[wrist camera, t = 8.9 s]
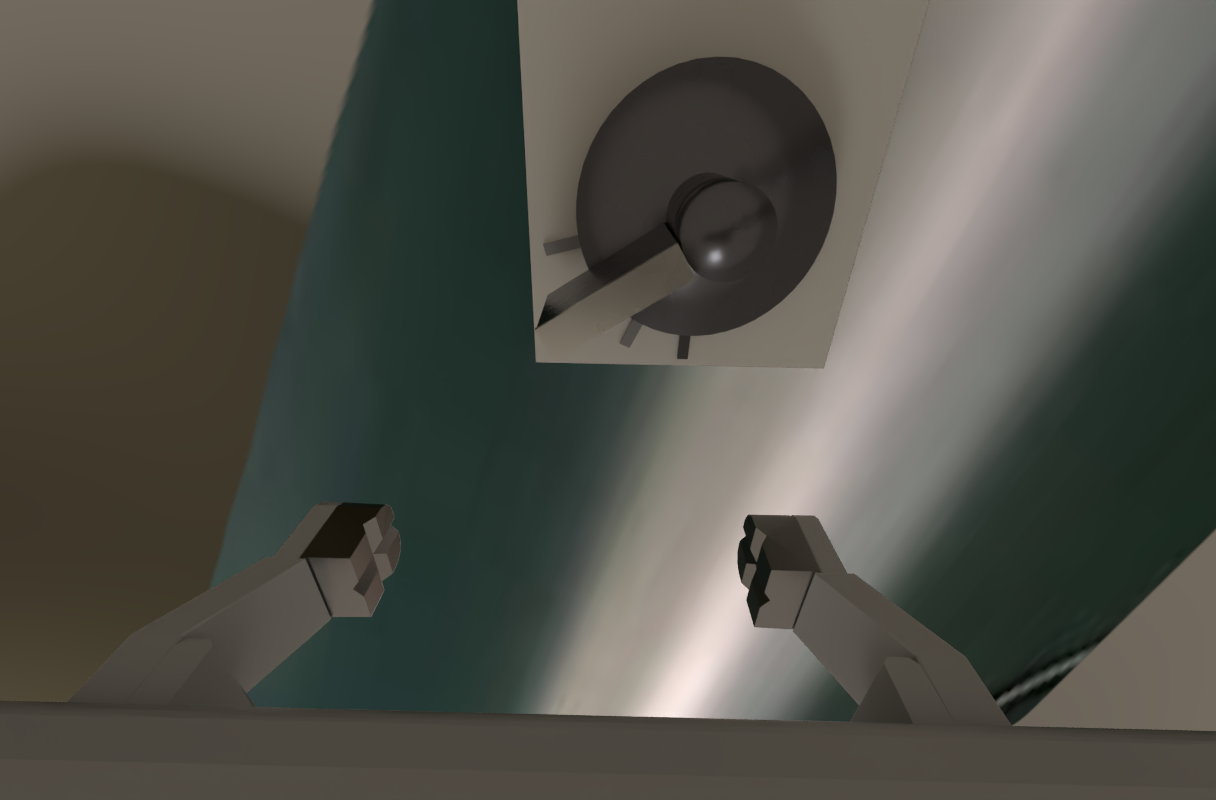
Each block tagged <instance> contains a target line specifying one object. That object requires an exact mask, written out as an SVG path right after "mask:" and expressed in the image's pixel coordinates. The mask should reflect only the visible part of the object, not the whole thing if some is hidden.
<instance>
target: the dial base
mask: <svg viewBox="0 0 1216 800" xmlns="http://www.w3.org/2000/svg"><path fill="white" fill-rule="evenodd" d="M517 3H518V22H519V42H520V61H521V80H522V99H523V119H524V138H525V157H526V177H527V196H528V215H529V235H530V254H531V273H532V292H533V312H534V331H535V328H536V327H537V325H538V322H539V319H540V316H541V313H542V310H543V307H544V304H545V301H546V298H547V295H548V294H550V293H551V292H553V291H555V290H556V289H558V288H559V287H561V286H563V285H564V284H566V283H567V282H569V281H571V280H572V279H574V278H576V277H577V276H579V275H580V274H582V273H584V272H585V271H587V270H588V267H587V264H586V262H585V259H584V256H583V254H582V250H581V246H580V242H579V238H578V231H577V223H576V198H577V191H578V183H579V179H580V175H581V171H582V167H583V163H584V161H585V158H586V156H587V153H588V150H589V148H590V145H591V143H592V142H593V140H594V138H595V136H596V134H597V132H598V130H599V129H600V127H601V125H602V124H603V123H604V121H605V120H606V119H607V117H608V116H609V114H610V113H611V112H612V110H613V109H614V108H615V107H616V106H617V105H618V104H619V103H620V102H621V101H622V100H623V98H624V97H625V96H626V95H627V94H629V93H630V92H631V91H632V90H634V89H635V88H636V87H637V86H638V85H640V84H641V83H642V82H644V81H645V80H647V79H649V78H650V77H652V76H653V75H655V74H657V73H658V72H660V71H662V70H665V69H667V68H669V67H672V66H674V65H676V64H679V63H683V62H686V61H690V60H694V59H698V58H707V57H717V56H718V57H736V58H741V59H745V60H750V61H754V62H757V63H759V64H762V65H764V66H767V67H769V68H772V69H773V70H775V71H777V72H778V73H780V74H781V75H783V76H785V77H786V78H788V79H789V80H790V81H791V82H793V83H794V84H795V85H796V86H797V87H798V88H799V89H800V90H802V91H803V93H804V94H805V95H806V96H807V97H808V99H809V100H810V101H811V102H812V104H813V105H814V106H815V108H816V110H817V111H818V113H819V115H820V116H821V118H822V120H823V122H824V124H825V127H826V129H827V132H828V134H829V137H830V139H831V143H832V147H833V151H834V155H835V163H836V172H837V191H836V201H835V207H834V213H833V217H832V221H831V225H830V228H829V231H828V234H827V237H826V239H825V242H824V244H823V247H822V249H821V251H820V252H819V254H818V256H817V258H816V260H815V262H814V264H813V265H812V267H811V268H810V270H809V271H808V273H807V274H806V275H805V277H804V278H803V279H802V281H801V282H800V283H799V284H798V285H797V286H796V288H795V289H794V290H793V291H792V292H791V293H790V294H789V295H788V296H787V297H786V298H785V299H784V300H783V301H782V302H780V303H779V304H778V305H776V306H775V307H774V308H772V309H771V310H770V311H769V312H767V313H765V314H764V315H762V316H760V317H759V318H757V319H756V320H754V321H752V322H749V323H747V324H745V325H743V326H741V327H738V328H735V329H732V330H729V331H726V332H722V333H717V334H712V335H702V336H681V335H675V334H669V333H664V332H661V331H658V330H654V329H651V328H649V327H647V326H645V325H642V324H640V323H638V322H637V321H635V320H633V319H632V318H630V317H629V318H627V319H626V320H624V321H622V322H620V323H619V324H617V325H615V326H614V327H612V328H610V329H608V330H607V331H605V332H603V333H601V334H600V335H598V336H596V337H594V338H593V339H591V340H589V341H588V342H586V343H584V344H582V345H581V346H579V347H577V348H575V349H574V350H572V351H570V352H568V353H567V354H565V355H563V356H562V357H560V358H558V359H555V358H554V356H553V355H552V353H551V352H550V351H549V349H548V348H547V347H546V345H545V344H544V342H543V341H542V340H541V338H540V337H539V336H538V334H537V333H536V332H535V350H536V362H552V363H597V364H643V365H689V366H735V367H781V368H824V366H825V362H826V359H827V355H828V352H829V348H830V345H831V341H832V338H833V334H834V331H835V327H836V324H837V320H838V317H839V313H840V310H841V307H842V303H843V300H844V296H845V293H846V289H847V286H848V282H849V279H850V275H851V272H852V268H853V265H854V261H855V258H856V254H857V251H858V247H859V244H860V240H861V237H862V233H863V230H864V226H865V223H866V220H867V216H868V213H869V209H870V206H871V202H872V199H873V195H874V192H875V188H876V185H877V181H878V178H879V174H880V171H881V167H882V164H883V160H884V157H885V153H886V150H887V146H888V143H889V139H890V136H891V133H892V129H893V126H894V122H895V119H896V115H897V112H898V108H899V105H900V101H901V98H902V94H903V91H904V87H905V84H906V80H907V77H908V73H909V70H910V66H911V63H912V59H913V56H914V53H915V49H916V46H917V42H918V39H919V35H920V32H921V28H922V25H923V21H924V18H925V14H926V11H927V7H928V4H929V0H517Z"/></svg>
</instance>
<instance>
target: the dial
mask: <svg viewBox="0 0 1216 800" xmlns="http://www.w3.org/2000/svg"><path fill="white" fill-rule="evenodd" d="M836 191H837V172H836V163H835V155H834V151H833V147H832V143H831V139H830V137H829V134H828V132H827V129H826V127H825V124H824V122H823V120H822V118H821V116H820V115H819V113H818V111H817V110H816V108H815V106H814V105H813V104H812V102H811V101H810V100H809V99H808V97H807V96H806V95H805V94H804V93H803V91H802V90H800V89H799V88H798V87H797V86H796V85H795V84H794V83H793V82H791V81H790V80H789V79H788V78H786V77H785V76H783V75H781V74H780V73H778V72H777V71H775V70H773V69H772V68H769V67H767V66H764V65H762V64H759V63H757V62H754V61H750V60H745V59H741V58H736V57H718V56H717V57H707V58H698V59H694V60H690V61H686V62H683V63H679V64H676V65H674V66H672V67H669V68H667V69H665V70H662V71H660V72H658V73H657V74H655V75H653V76H652V77H650V78H649V79H647V80H645V81H644V82H642V83H641V84H640V85H638V86H637V87H636V88H635V89H634V90H632V91H631V92H630V93H629V94H627V95H626V96H625V97H624V98H623V100H622V101H621V102H620V103H619V104H618V105H617V106H616V107H615V108H614V109H613V110H612V112H611V113H610V114H609V116H608V117H607V119H606V120H605V121H604V123H603V124H602V125H601V127H600V129H599V130H598V132H597V134H596V136H595V138H594V140H593V142H592V143H591V145H590V148H589V150H588V153H587V156H586V158H585V161H584V163H583V167H582V171H581V175H580V179H579V183H578V191H577V198H576V223H577V231H578V238H579V242H580V246H581V250H582V254H583V256H584V259H585V262H586V264H587V267H588V270H587V271H585V272H584V273H582V274H580V275H579V276H577V277H576V278H574V279H572V280H571V281H569V282H567V283H566V284H564V285H563V286H561V287H559V288H558V289H556V290H555V291H553V292H551V293H550V294H548V295H547V298H546V301H545V304H544V307H543V310H542V313H541V316H540V319H539V322H538V325H537V327H536V328H535V332H536V333H537V334H538V336H539V337H540V338H541V340H542V341H543V342H544V344H545V345H546V347H547V348H548V349H549V351H550V352H551V353H552V355H553V356H554V358H555V359H558V358H560V357H562V356H563V355H565V354H567V353H568V352H570V351H572V350H574V349H575V348H577V347H579V346H581V345H582V344H584V343H586V342H588V341H589V340H591V339H593V338H594V337H596V336H598V335H600V334H601V333H603V332H605V331H607V330H608V329H610V328H612V327H614V326H615V325H617V324H619V323H620V322H622V321H624V320H626V319H627V318H629V317H630V318H632V319H633V320H635V321H637V322H638V323H640V324H642V325H645V326H647V327H649V328H651V329H654V330H658V331H661V332H664V333H669V334H675V335H681V336H702V335H712V334H717V333H722V332H726V331H729V330H732V329H735V328H738V327H741V326H743V325H745V324H747V323H749V322H752V321H754V320H756V319H757V318H759V317H760V316H762V315H764V314H765V313H767V312H769V311H770V310H771V309H772V308H774V307H775V306H776V305H778V304H779V303H780V302H782V301H783V300H784V299H785V298H786V297H787V296H788V295H789V294H790V293H791V292H792V291H793V290H794V289H795V288H796V286H797V285H798V284H799V283H800V282H801V281H802V279H803V278H804V277H805V275H806V274H807V273H808V271H809V270H810V268H811V267H812V265H813V264H814V262H815V260H816V258H817V256H818V254H819V252H820V251H821V249H822V247H823V244H824V242H825V239H826V237H827V234H828V231H829V228H830V225H831V221H832V217H833V213H834V207H835V201H836Z"/></svg>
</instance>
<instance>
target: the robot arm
mask: <svg viewBox="0 0 1216 800" xmlns="http://www.w3.org/2000/svg"><path fill="white" fill-rule="evenodd" d="M393 519H394V514H393V511H392V508H391V506H388V505H384V504H365V503H346V502H343V503H336V502H320V503H318V504H316V505H314V507H313V508H312V509H311V510H310V511H309V513H308V514H307V515H306V517H305V518H304V519H303V520H302V522H301V523H300V524H299V525H298V527H297V528H296V529H295V530H294V532H293V533H292V534H291V535H290V537H289V538H288V539H287V540H286V542H285V543H284V544H283V545H282V547H281V548H280V549H279V550H278V552H277V553H276V554H275V555H274V557H273V558H264V559H262V560H260V561H259V562H257V563H255V564H253V565H252V566H250V567H248V568H246V569H245V570H243V571H241V572H239V573H238V574H236V575H234V576H232V577H231V578H229V579H227V580H225V581H224V582H222V583H220V584H218V585H217V586H215V587H213V588H211V589H210V590H208V591H206V592H204V593H203V594H201V595H199V596H198V597H196V598H194V599H192V600H191V601H189V602H187V603H185V604H184V605H182V606H180V607H178V608H177V609H175V610H173V611H171V612H170V613H168V614H166V615H164V616H163V617H161V618H159V619H157V620H156V621H154V622H152V623H151V624H149V625H147V626H145V627H143V628H142V629H140V630H138V631H136V632H135V633H133V634H131V635H130V636H129V637H128V638H127V639H126V640H125V641H124V643H123V644H122V645H121V646H120V647H119V648H118V649H117V650H116V651H115V652H114V653H113V654H112V655H111V656H110V657H109V658H108V659H107V660H106V661H105V662H104V663H103V664H102V666H101V667H100V668H99V669H98V670H97V671H96V672H95V673H94V674H93V675H92V676H91V677H90V678H89V679H88V680H87V681H86V682H85V683H84V684H83V685H82V687H80V689H79V690H78V691H77V692H76V693H75V694H74V695H73V696H72V697H71V698H70V699H69V700H68V701H67V702H40V701H39V702H38V701H2V700H1V701H0V800H1216V731H1186V730H1148V729H1145V730H1144V729H1108V728H1105V729H1104V728H1067V727H1025V726H1011V724H1010V723H1009V721H1008V720H1007V718H1006V717H1005V715H1004V714H1003V712H1002V711H1001V709H1000V708H999V706H998V705H997V703H996V702H995V700H994V699H993V697H992V696H991V694H990V693H989V691H988V690H987V688H986V687H985V685H984V684H983V682H982V681H981V679H980V678H979V676H978V675H977V673H976V672H975V670H974V669H973V667H972V666H971V664H970V663H969V661H968V660H967V658H966V657H965V656H964V655H962V654H961V653H960V652H958V651H957V650H956V649H954V648H953V647H952V646H950V645H949V644H947V643H946V642H945V641H943V640H942V639H941V638H939V637H938V636H937V635H935V634H934V633H933V632H931V631H930V630H929V629H927V628H926V627H925V626H923V625H922V624H921V623H919V622H918V621H917V620H915V619H914V618H913V617H911V616H910V615H909V614H907V613H906V612H905V611H903V610H902V609H901V608H899V607H898V606H897V605H895V604H894V603H893V602H891V601H890V600H889V599H887V598H886V597H885V596H883V595H882V594H881V593H879V592H878V591H877V590H875V589H874V588H873V587H871V586H870V585H869V584H867V583H866V582H865V581H863V580H862V579H861V578H859V577H858V576H857V575H855V574H848V573H847V572H846V570H845V568H844V566H843V564H842V562H841V561H840V559H839V557H838V555H837V553H836V551H835V549H834V548H833V546H832V544H831V542H830V540H829V538H828V536H827V535H826V533H825V531H824V529H823V527H822V525H821V523H820V521H819V520H818V518H816V517H815V516H800V515H792V516H789V515H748V516H747V517H746V519H745V522H744V526H743V528H744V531H745V534H746V536H745V537H744V538H743V539H742V540H741V541H740V543H739V548H738V570H739V575H740V579H741V582H742V584H743V585H744V586H746V587H747V588H748V589H749V592H748V596H747V604H748V607H749V610H750V614H751V617H752V621H753V624H754V627H762V628H780V629H794V630H793V632H794V633H795V634H796V635H797V636H798V637H799V638H800V639H801V641H802V642H803V643H804V644H805V645H806V646H807V647H808V648H809V650H810V651H811V652H812V653H813V654H814V655H815V656H816V657H817V659H818V660H819V661H820V662H821V663H822V664H823V665H824V666H825V668H826V669H827V670H828V671H829V672H830V673H831V674H832V675H833V677H834V678H835V679H836V680H837V681H838V682H839V683H840V684H841V686H842V687H843V688H844V689H845V690H846V691H847V692H848V693H849V694H850V696H851V697H852V698H853V699H854V700H855V701H856V702H857V703H858V705H859V707H858V709H857V711H856V712H855V714H854V716H853V718H852V720H851V721H850V722H829V721H790V720H750V719H710V718H670V717H630V716H590V715H550V714H509V713H469V712H429V711H389V710H350V709H311V708H272V707H255V705H254V704H253V702H252V701H251V699H250V698H249V696H248V695H247V692H248V691H249V690H251V689H252V688H253V687H254V686H255V685H256V684H257V683H259V682H260V681H261V680H262V679H263V678H264V677H265V676H267V675H268V674H269V673H270V672H271V671H272V670H273V669H275V668H276V667H277V666H278V665H279V664H280V663H281V662H283V661H284V660H285V659H286V658H287V657H288V656H290V655H291V654H292V653H293V652H294V651H295V650H296V649H298V648H299V647H300V646H301V645H302V644H303V643H304V642H306V641H307V640H308V639H309V638H310V637H311V636H312V635H314V634H315V633H316V632H317V631H318V630H319V629H320V628H322V627H323V626H324V625H325V624H326V623H327V622H328V621H330V620H331V617H371V616H372V614H373V612H374V610H375V608H376V606H377V604H378V602H379V600H380V598H381V596H382V594H383V592H384V588H383V585H382V581H383V580H384V579H386V578H387V577H388V576H390V575H391V574H392V573H393V571H394V569H395V567H396V565H397V563H398V559H399V555H400V550H401V544H400V536H399V532H398V531H397V530H396V529H395V528H394V527H392V526H391V525H390V524H391V523H392V521H393Z"/></svg>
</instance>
